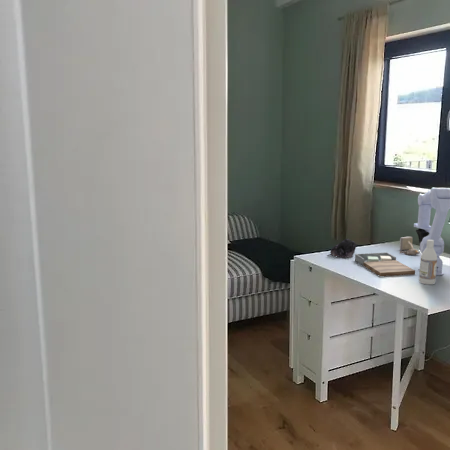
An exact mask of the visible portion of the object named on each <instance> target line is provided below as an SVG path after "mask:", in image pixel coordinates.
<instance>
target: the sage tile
mask: <svg viewBox="0 0 450 450" xmlns="http://www.w3.org/2000/svg"><path fill="white" fill-rule="evenodd" d="M374 261H379V259H378V257H371V256H368V258H367V262H374Z"/></svg>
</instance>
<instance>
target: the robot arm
mask: <svg viewBox="0 0 450 450" xmlns="http://www.w3.org/2000/svg"><path fill="white" fill-rule="evenodd" d="M417 205H418V215H417V222H415V223H413V228H417V229H416V230H415V232H416V234H417V237H418V243H419V252H420V254H422V253H423V251H424V250H425V249H426V247H427V240H434V247H433V249H434V250H435V252H436V254H437V268H436V276H443V275H444V273H443V263H444V262H443V260H442V259H441V258H440V256H441V255H442V254H443V253H444V251H445V242H444V239H443V238H442V236H441V235H442V233H443V229H444V226H445V222H446V220H447V217H448V213H449V210H450V187H431V189H428V191H427V192H425V193H423V194H422V193H419V194H418V197H417ZM432 209H434V210H435V214H434V217H433V220H432V223H431V225H430V222H431V212H432ZM417 270H418V271H419V272H420V268H417Z"/></svg>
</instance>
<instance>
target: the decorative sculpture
mask: <svg viewBox="0 0 450 450" xmlns="http://www.w3.org/2000/svg"><path fill="white" fill-rule="evenodd" d="M413 238H414V237H413V236H404V237H403V236H402V237H400V238H399V254H404V255H406V256H409V255H410V256H416V255H419V254H421V252H420V251H419V250H417V249H416V248H414V246H413Z"/></svg>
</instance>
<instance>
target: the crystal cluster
mask: <svg viewBox="0 0 450 450" xmlns="http://www.w3.org/2000/svg"><path fill="white" fill-rule="evenodd" d="M356 248H357V244H356V242H355V241H354V240H352V239H350V238H344V239H343V240H342V241H341V242H339V243H338V244H336V245H335V246H333V247H332V248H331V249H330V252H329V253H331V254H330V255H331V256H333V255H334V256H333V257H335V256H337V258H352V257H354V255H355V252H356V251H355V250H356Z"/></svg>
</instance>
